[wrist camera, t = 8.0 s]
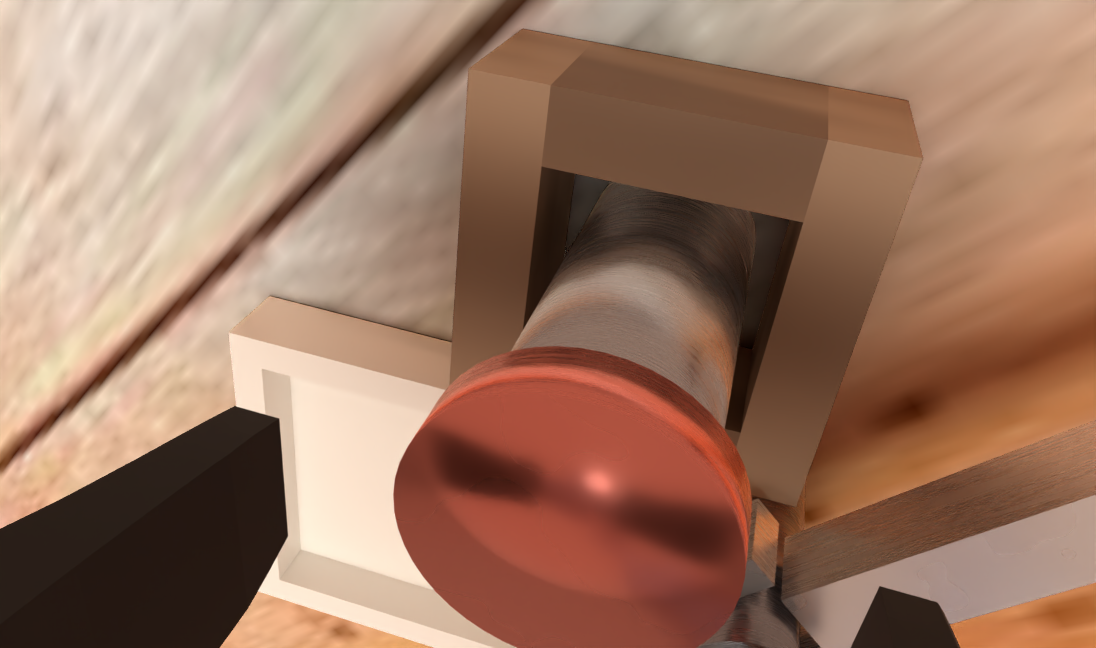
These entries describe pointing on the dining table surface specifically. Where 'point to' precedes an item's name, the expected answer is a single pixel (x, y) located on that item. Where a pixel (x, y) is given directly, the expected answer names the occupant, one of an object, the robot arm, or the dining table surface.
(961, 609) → the bar
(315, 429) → the tray
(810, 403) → the socket block
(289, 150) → the dining table surface
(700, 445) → the steel pin
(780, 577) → the pivot post
